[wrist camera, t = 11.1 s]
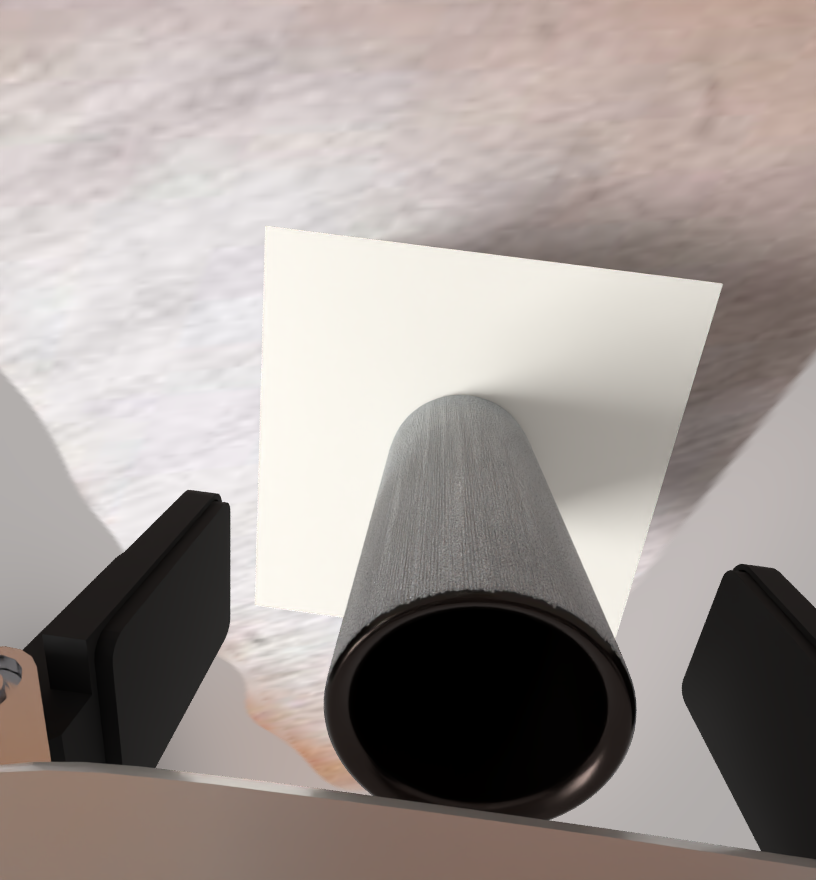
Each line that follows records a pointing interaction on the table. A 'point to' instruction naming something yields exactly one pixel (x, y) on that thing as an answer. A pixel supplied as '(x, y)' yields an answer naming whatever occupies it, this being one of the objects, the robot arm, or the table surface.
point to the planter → (475, 631)
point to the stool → (461, 393)
